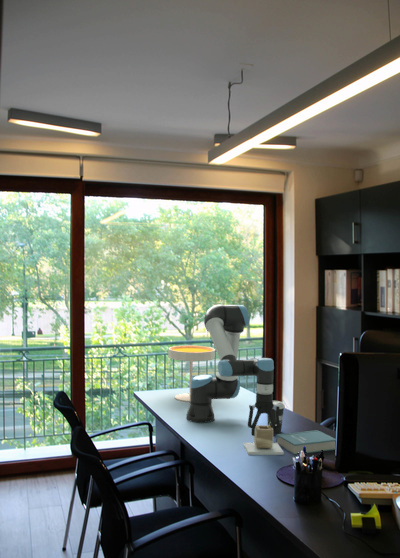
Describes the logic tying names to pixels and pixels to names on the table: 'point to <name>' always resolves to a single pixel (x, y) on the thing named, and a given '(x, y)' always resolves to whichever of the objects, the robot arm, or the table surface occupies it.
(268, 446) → the wooden cubby shelf
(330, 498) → the table surface
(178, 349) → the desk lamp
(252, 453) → the plate
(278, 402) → the coffee cup
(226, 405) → the table surface
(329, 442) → the book
